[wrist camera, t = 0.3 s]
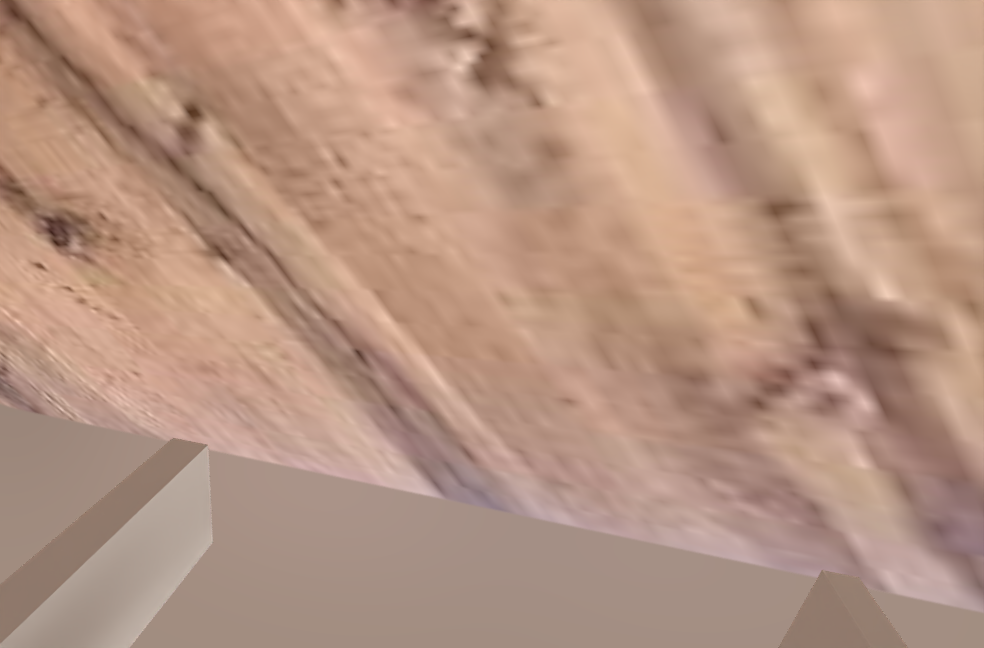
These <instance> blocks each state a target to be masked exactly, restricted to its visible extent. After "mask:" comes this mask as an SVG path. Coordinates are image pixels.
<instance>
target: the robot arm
mask: <svg viewBox="0 0 984 648" xmlns="http://www.w3.org/2000/svg"><path fill="white" fill-rule="evenodd" d="M210 497H211V496H210V475H209V453H208V445H206V444H201V443H196V442H191V441H186V440H181V439H176V438H173V439H171V440H170V441H169V442H168V443H167V444H166V445H164V446H163V447H162V448H161V449H160V450H158V451H157V452H156V453H155V454H154V455H153V456H151V457H150V458H149V459H148V460H147V461H146V462H144V463H143V464H142V465H141V466H140V467H138V468H137V469H136V470H135V471H134V472H133V473H131V474H130V475H129V476H128V477H127V478H125V479H124V480H123V481H122V482H121V483H119V484H118V485H117V486H116V487H115V488H114V489H112V490H111V491H110V492H109V493H108V494H107V495H105V496H104V497H103V498H102V499H101V500H99V501H98V502H97V503H96V504H95V505H94V506H92V507H91V508H90V509H89V510H88V511H86V512H85V513H84V514H83V515H82V516H81V517H79V518H78V519H77V520H76V521H75V522H73V523H72V524H71V525H70V526H69V527H68V528H66V529H65V530H64V531H63V532H62V533H61V534H59V535H58V536H57V537H56V538H55V539H53V540H52V541H51V542H50V543H49V544H48V545H46V546H45V547H44V548H43V549H42V550H40V551H39V552H38V553H37V554H36V555H35V556H33V557H32V558H31V559H30V560H29V561H27V562H26V563H25V564H24V565H23V566H22V567H20V568H19V569H18V570H17V571H16V572H14V573H13V574H12V575H11V576H10V577H9V578H7V579H6V580H5V581H4V582H3V583H1V584H0V648H130V646H131V645H132V644H133V643H134V641H135V640H136V639H137V637H138V636H139V635H140V634H141V632H142V631H143V630H144V629H145V627H146V626H147V625H148V624H149V622H150V621H151V620H152V618H153V617H154V616H155V615H156V613H157V612H158V611H159V610H160V608H161V607H162V606H163V605H164V603H165V602H166V601H167V600H168V598H169V597H170V596H171V594H172V593H173V592H174V591H175V589H176V588H177V587H178V586H179V584H180V583H181V582H182V580H183V579H184V578H185V577H186V575H187V574H188V573H189V572H190V570H191V569H192V568H193V567H194V565H195V564H196V563H197V562H198V560H199V559H200V558H201V556H202V555H203V554H204V553H205V551H206V550H207V549H208V547H209V546H210V545H211V544H212V543H213V539H212V520H211V519H212V518H211V498H210ZM778 648H908V647H907V645H906V644H905V643H904V641H903V640H902V638H901V637H900V635H899V634H898V633H897V631H896V630H895V628H894V627H893V626H892V624H891V623H890V621H889V620H888V618H887V617H886V615H885V614H884V613H883V611H882V610H881V608H880V607H879V605H878V604H877V603H876V601H875V600H874V598H873V597H872V596H871V594H870V593H869V591H868V590H867V588H866V587H865V585H864V584H863V583H862V581H861V580H860V578H858V577H854V576H849V575H844V574H839V573H834V572H829V571H824V570H822V571H821V573H820V575H819V577H818V578H817V580H816V582H815V584H814V585H813V587H812V589H811V591H810V593H809V594H808V596H807V598H806V600H805V601H804V603H803V605H802V607H801V608H800V610H799V612H798V614H797V616H796V617H795V619H794V621H793V623H792V624H791V626H790V628H789V630H788V631H787V633H786V635H785V637H784V639H783V640H782V642H781V644H780V646H779V647H778Z"/></svg>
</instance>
